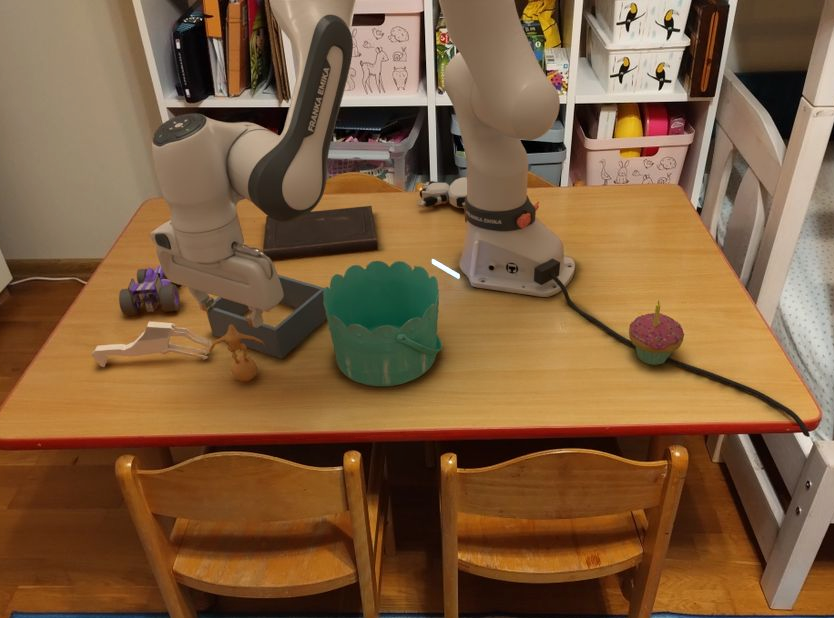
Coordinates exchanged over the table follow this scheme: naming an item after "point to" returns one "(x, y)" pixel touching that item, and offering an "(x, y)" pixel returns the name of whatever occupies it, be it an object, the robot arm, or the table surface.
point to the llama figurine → (152, 343)
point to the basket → (383, 322)
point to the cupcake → (655, 336)
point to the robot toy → (444, 193)
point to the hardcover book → (321, 233)
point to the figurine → (241, 366)
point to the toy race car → (149, 293)
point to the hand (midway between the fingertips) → (231, 316)
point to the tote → (282, 335)
